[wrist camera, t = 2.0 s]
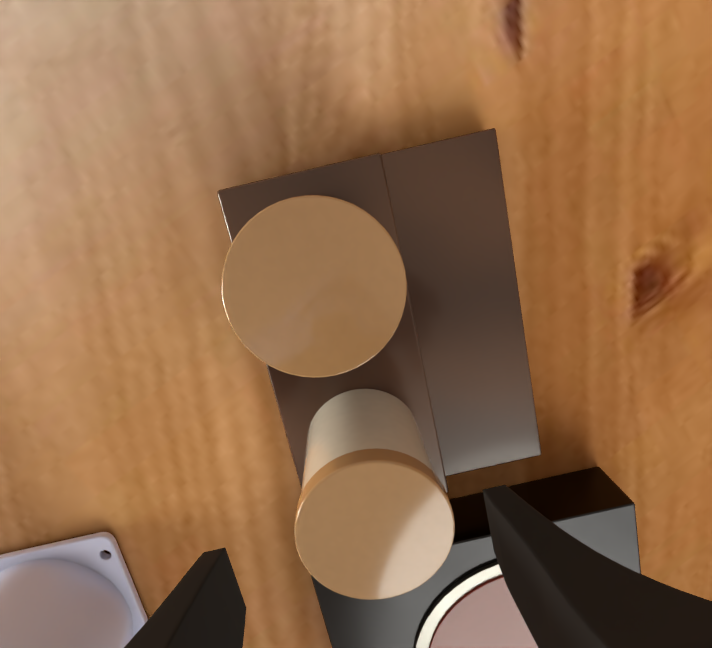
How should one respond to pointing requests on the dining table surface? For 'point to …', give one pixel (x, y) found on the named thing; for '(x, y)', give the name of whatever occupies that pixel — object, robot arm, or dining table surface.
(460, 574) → the hot plate
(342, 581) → the cream jar
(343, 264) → the blue jar
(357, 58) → the dining table surface
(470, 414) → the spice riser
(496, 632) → the burner
